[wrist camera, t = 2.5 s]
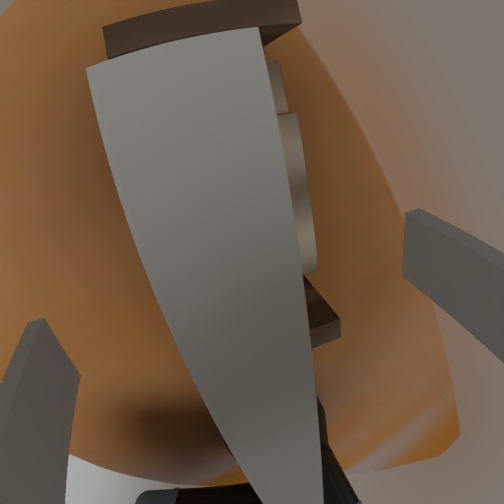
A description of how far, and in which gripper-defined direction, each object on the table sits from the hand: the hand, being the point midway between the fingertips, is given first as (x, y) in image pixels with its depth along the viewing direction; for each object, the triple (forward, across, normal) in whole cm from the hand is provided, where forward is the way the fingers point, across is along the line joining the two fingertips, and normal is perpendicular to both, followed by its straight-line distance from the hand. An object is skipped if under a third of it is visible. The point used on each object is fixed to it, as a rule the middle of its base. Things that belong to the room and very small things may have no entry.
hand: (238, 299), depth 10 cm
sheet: (+17, 0, 0) cm, 17 cm away
